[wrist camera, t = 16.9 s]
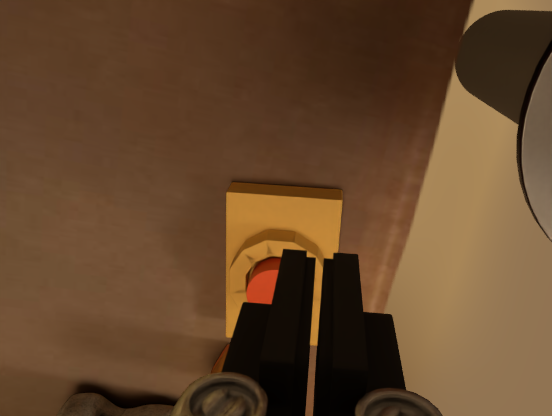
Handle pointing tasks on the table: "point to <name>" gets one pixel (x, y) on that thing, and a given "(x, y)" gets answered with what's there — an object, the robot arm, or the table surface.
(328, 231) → the button block
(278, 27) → the table surface
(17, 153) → the table surface
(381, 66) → the table surface
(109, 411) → the stone
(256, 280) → the red push button
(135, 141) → the table surface
